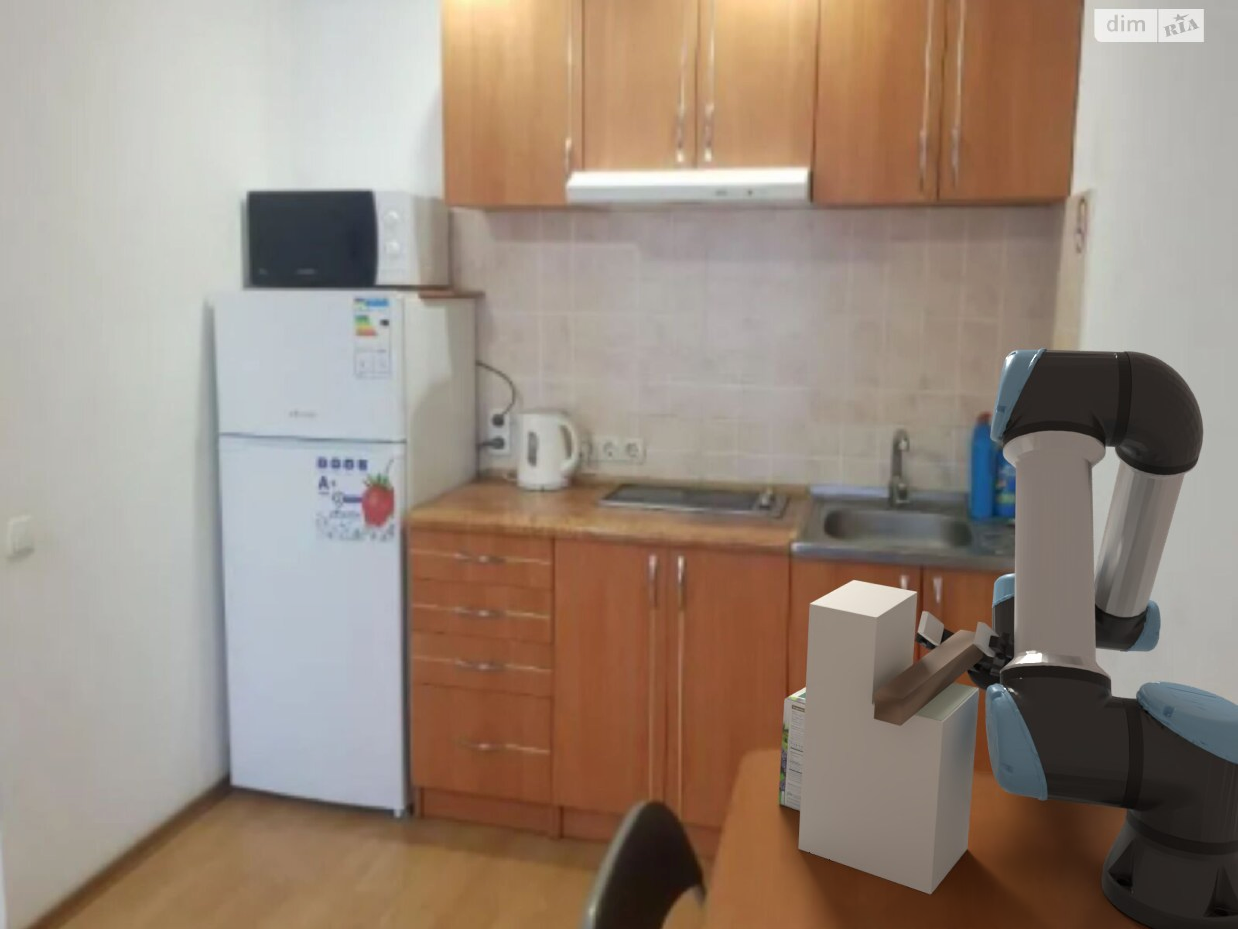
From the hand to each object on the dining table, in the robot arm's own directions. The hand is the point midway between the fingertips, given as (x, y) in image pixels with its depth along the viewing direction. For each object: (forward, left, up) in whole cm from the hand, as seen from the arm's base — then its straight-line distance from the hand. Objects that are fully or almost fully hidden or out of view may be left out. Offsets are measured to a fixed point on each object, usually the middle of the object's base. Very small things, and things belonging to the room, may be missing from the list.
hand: (950, 627), depth 133 cm
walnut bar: (-1, +7, -5) cm, 9 cm away
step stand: (+3, +10, -25) cm, 27 cm away
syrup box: (+15, +5, -25) cm, 30 cm away
